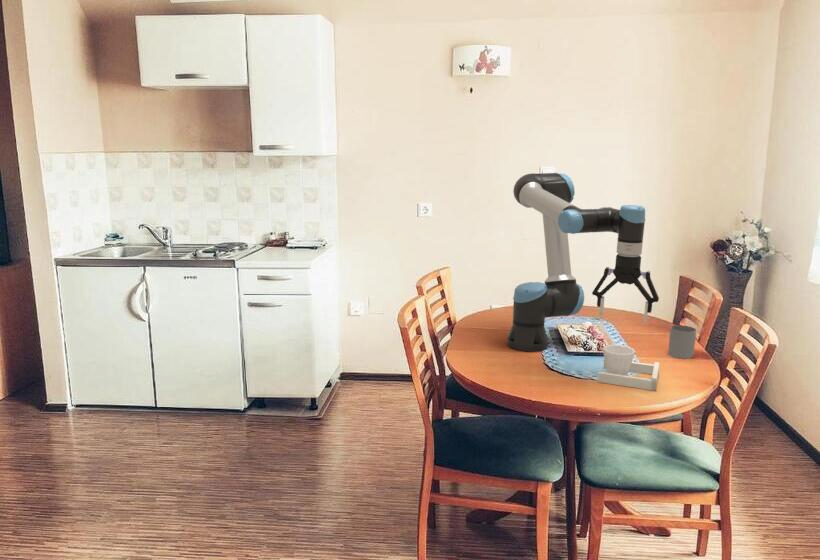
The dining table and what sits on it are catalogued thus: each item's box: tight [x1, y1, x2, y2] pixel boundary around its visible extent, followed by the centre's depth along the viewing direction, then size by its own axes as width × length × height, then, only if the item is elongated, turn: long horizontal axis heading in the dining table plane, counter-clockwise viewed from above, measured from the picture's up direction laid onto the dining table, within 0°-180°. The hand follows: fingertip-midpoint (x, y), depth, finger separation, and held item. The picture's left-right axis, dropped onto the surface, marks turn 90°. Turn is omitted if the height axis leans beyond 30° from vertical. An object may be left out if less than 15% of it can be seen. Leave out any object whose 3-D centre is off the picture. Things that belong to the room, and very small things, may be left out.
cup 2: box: [667, 324, 697, 359], centre depth 231 cm, size 8×8×10 cm
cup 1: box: [602, 344, 636, 376], centre depth 209 cm, size 10×10×9 cm
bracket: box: [597, 359, 660, 391], centre depth 209 cm, size 18×16×4 cm
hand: (622, 319), depth 207 cm, fingers open, 13 cm apart
